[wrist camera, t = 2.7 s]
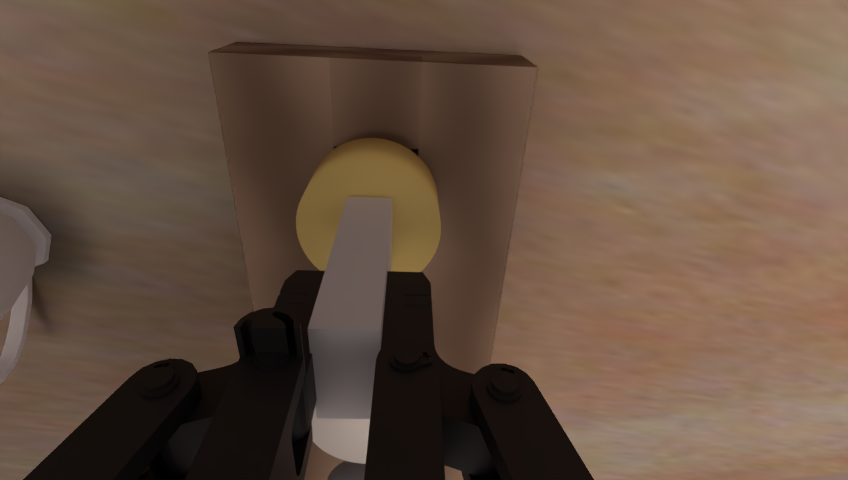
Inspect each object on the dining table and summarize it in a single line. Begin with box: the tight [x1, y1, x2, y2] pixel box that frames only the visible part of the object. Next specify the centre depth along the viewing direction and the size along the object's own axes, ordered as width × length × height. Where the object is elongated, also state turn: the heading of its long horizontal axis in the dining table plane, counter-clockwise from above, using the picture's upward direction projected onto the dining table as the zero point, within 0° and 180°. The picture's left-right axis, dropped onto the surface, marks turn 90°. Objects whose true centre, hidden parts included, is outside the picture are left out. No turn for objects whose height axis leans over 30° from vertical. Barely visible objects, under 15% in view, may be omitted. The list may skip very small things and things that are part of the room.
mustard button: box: [296, 138, 441, 272], centre depth 18 cm, size 5×5×5 cm
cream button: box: [312, 406, 370, 464], centre depth 21 cm, size 5×5×5 cm
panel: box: [208, 42, 538, 480], centre depth 24 cm, size 12×26×3 cm, turn 177°
